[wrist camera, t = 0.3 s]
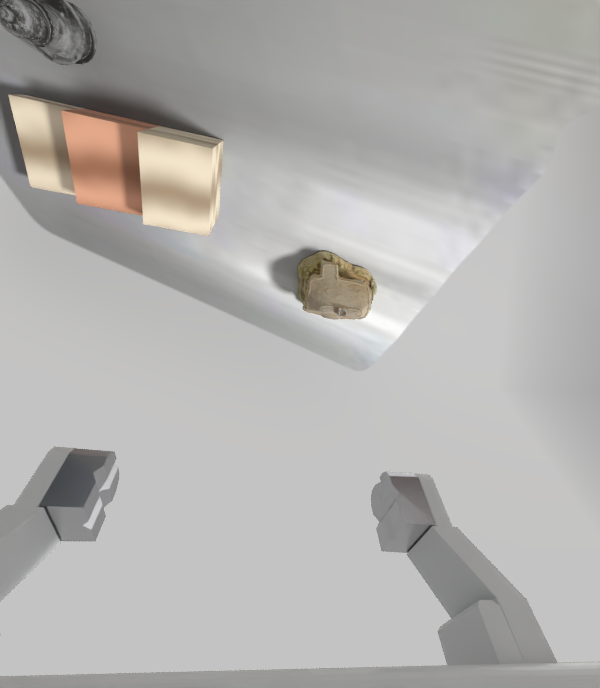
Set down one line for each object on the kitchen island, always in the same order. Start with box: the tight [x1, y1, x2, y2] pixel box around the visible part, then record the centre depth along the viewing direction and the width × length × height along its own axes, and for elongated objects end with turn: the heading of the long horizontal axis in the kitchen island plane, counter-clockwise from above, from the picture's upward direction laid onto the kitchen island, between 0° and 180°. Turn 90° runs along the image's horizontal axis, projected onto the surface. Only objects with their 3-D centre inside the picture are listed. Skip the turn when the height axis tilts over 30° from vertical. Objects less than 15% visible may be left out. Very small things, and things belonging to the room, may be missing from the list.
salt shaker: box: [0, 0, 96, 65], centre depth 33 cm, size 6×6×12 cm
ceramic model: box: [297, 251, 377, 319], centre depth 54 cm, size 14×11×10 cm
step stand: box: [8, 94, 223, 236], centre depth 42 cm, size 10×24×9 cm, turn 78°
